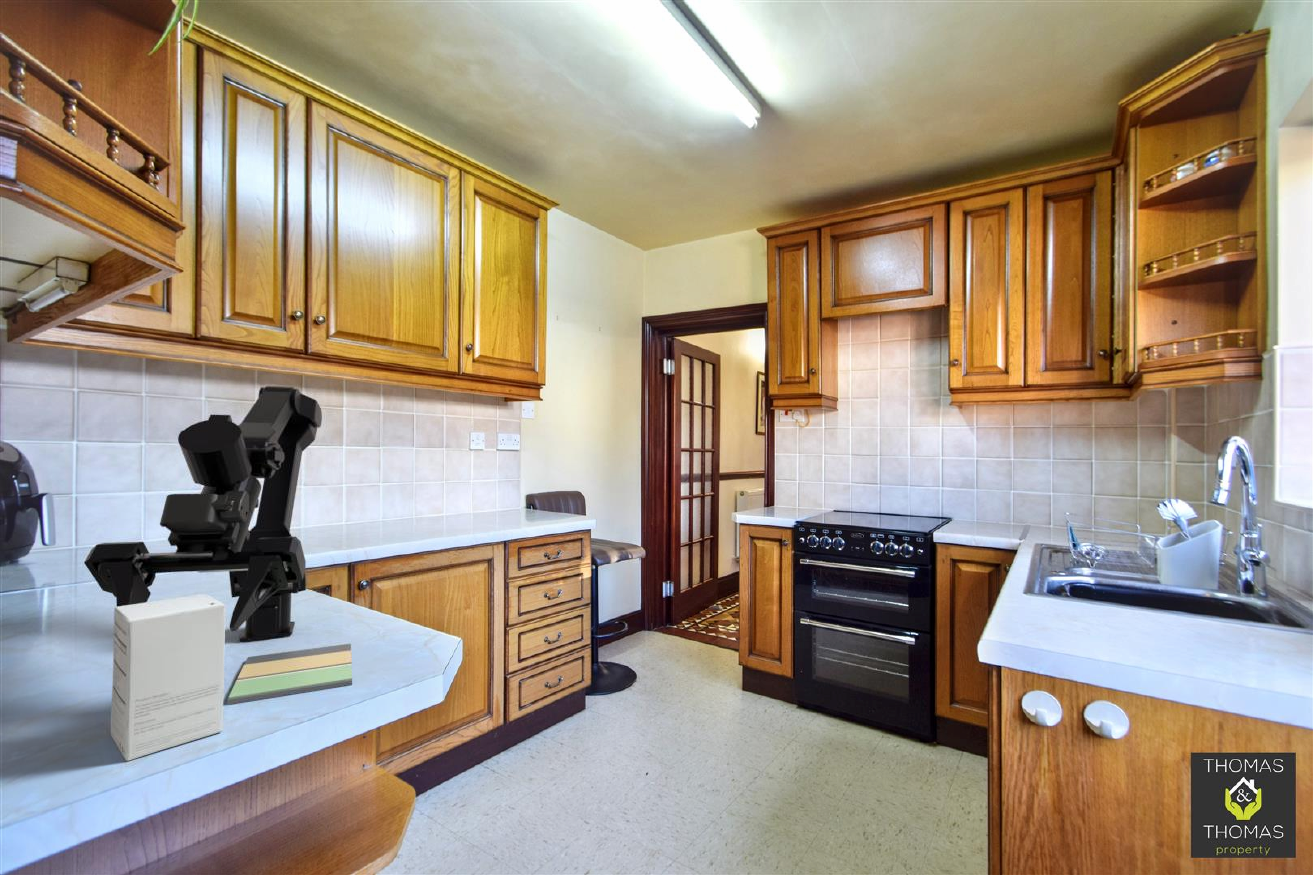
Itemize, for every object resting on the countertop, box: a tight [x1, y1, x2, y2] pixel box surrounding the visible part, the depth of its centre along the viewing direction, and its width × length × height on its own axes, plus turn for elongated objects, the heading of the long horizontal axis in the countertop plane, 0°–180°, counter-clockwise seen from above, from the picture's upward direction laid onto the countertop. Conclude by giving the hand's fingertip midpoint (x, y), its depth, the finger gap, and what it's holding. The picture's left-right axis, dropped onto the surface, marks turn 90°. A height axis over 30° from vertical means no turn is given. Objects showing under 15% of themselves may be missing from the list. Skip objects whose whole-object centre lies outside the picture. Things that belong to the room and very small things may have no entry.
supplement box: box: [110, 593, 227, 762], centre depth 56 cm, size 7×7×13 cm
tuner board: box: [227, 643, 353, 706], centre depth 72 cm, size 15×12×1 cm
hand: (178, 633), depth 58 cm, fingers open, 9 cm apart
